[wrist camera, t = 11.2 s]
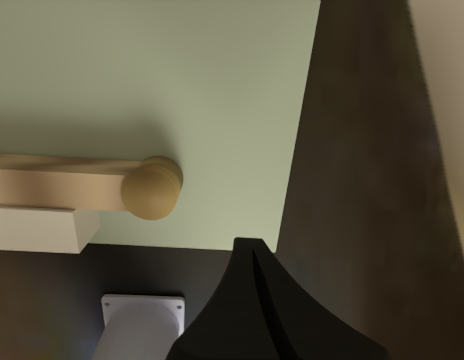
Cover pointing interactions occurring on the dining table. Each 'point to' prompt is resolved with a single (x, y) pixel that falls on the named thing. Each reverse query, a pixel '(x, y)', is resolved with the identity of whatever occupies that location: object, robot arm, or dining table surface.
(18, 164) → the leg
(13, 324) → the dining table surface
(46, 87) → the board
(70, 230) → the block
